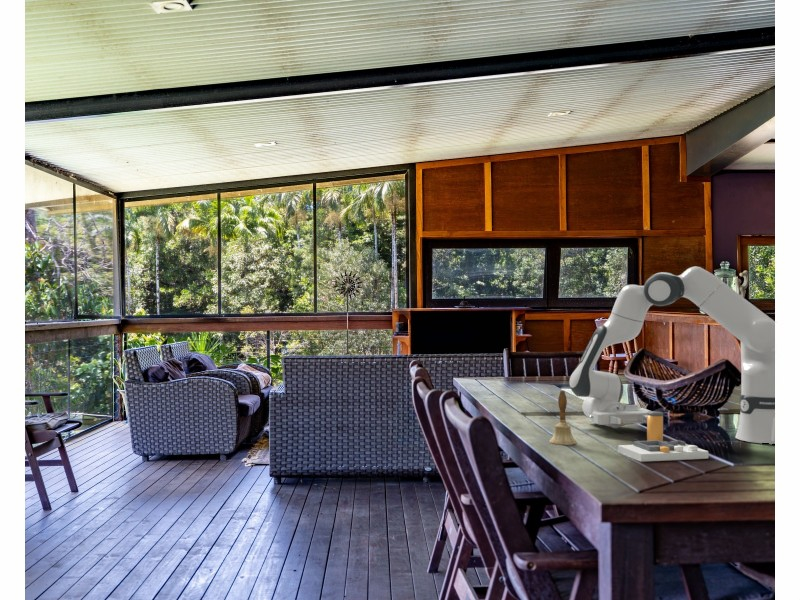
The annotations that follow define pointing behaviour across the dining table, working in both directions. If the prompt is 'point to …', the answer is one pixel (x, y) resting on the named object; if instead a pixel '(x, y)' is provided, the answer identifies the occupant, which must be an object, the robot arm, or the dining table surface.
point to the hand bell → (562, 425)
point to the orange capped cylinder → (654, 426)
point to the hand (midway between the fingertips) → (635, 421)
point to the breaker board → (662, 451)
